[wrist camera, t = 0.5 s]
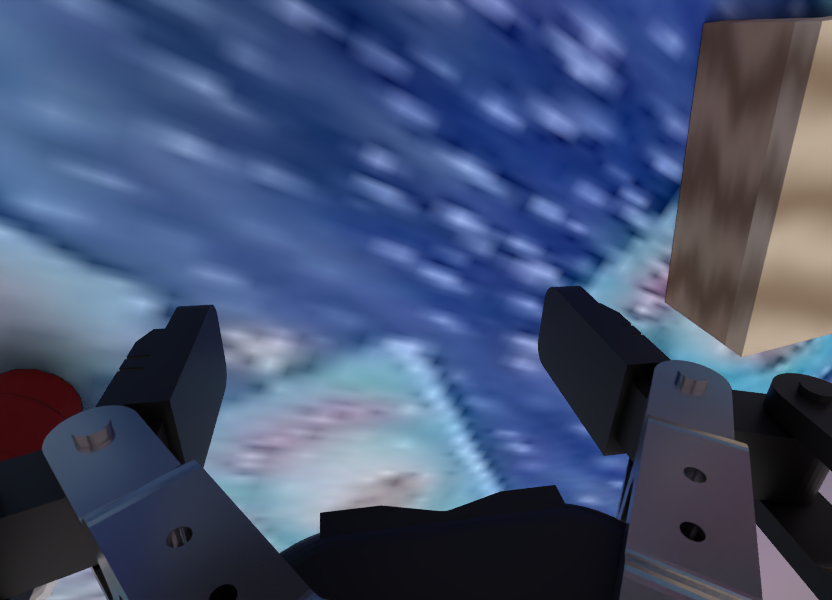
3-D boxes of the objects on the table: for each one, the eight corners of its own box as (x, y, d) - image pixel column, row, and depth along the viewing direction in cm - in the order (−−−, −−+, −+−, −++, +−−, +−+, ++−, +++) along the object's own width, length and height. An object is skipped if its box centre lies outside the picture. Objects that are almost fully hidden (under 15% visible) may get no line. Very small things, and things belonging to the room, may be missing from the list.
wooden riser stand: (703, 23, 31) (822, 21, 24) (919, -12, 33) (1085, -22, 26) (664, 302, 41) (741, 357, 34) (833, 261, 43) (937, 305, 36)
